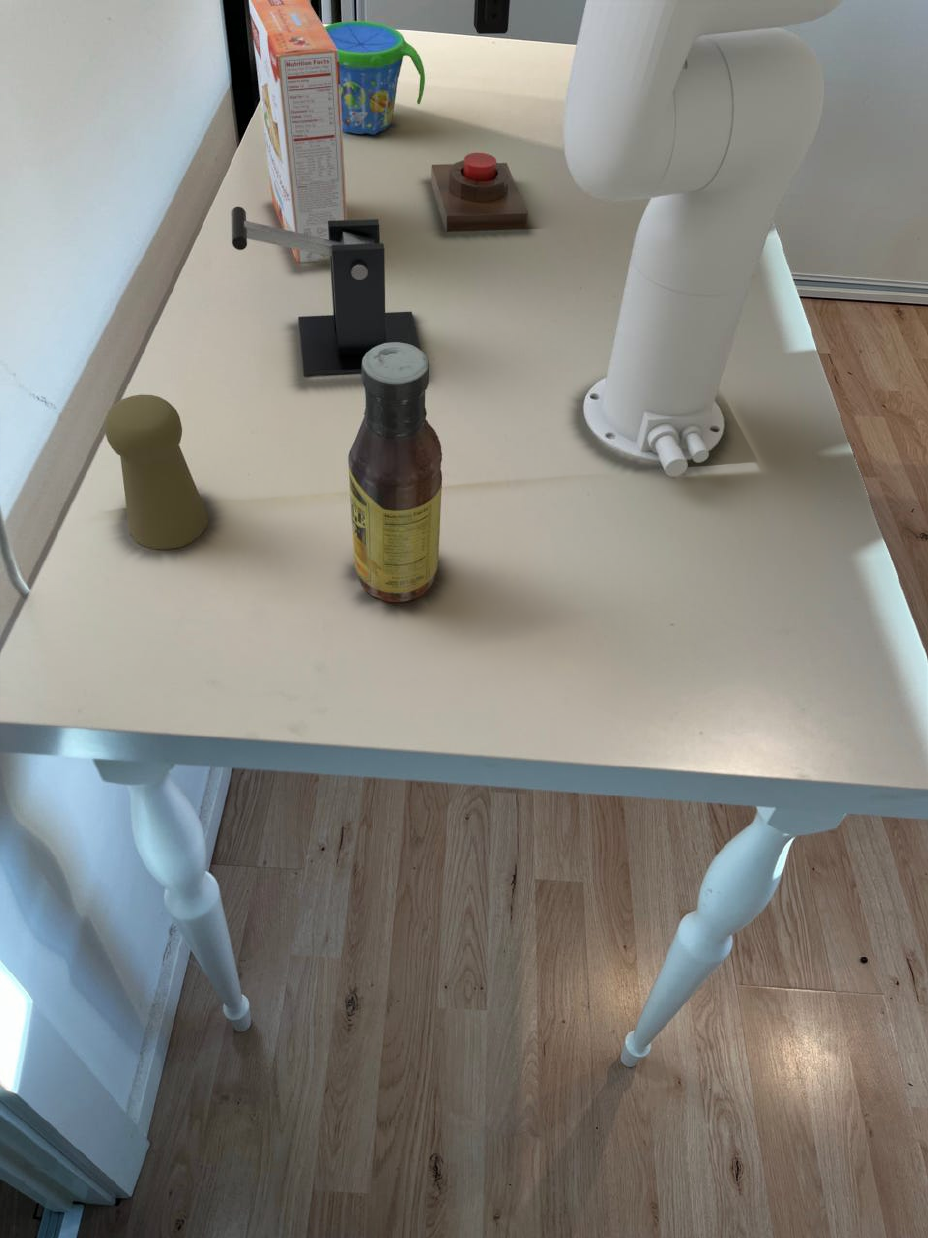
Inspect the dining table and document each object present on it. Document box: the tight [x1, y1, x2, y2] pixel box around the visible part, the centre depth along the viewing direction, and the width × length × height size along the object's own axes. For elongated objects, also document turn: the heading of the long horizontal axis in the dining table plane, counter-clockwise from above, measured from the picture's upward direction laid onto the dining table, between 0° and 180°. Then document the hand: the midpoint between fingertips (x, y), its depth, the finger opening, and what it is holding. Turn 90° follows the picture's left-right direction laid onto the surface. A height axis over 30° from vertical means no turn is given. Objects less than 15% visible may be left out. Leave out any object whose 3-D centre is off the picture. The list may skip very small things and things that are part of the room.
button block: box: [430, 159, 529, 233], centre depth 107 cm, size 12×9×4 cm
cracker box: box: [248, 0, 348, 264], centre depth 94 cm, size 14×6×21 cm, turn 18°
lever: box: [230, 206, 375, 257], centre depth 80 cm, size 12×5×2 cm, turn 99°
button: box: [463, 152, 497, 181], centre depth 105 cm, size 4×4×2 cm
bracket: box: [297, 218, 422, 378], centre depth 85 cm, size 11×9×12 cm
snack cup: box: [324, 20, 426, 136], centre depth 117 cm, size 16×10×10 cm
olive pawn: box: [104, 393, 209, 550], centre depth 70 cm, size 6×6×11 cm
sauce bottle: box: [347, 342, 443, 603], centre depth 64 cm, size 6×6×20 cm
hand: (490, 29), depth 94 cm, fingers closed
